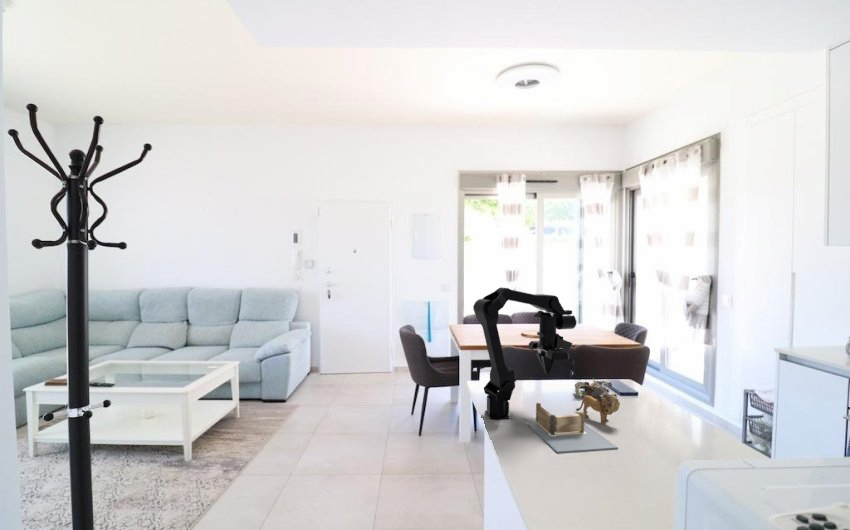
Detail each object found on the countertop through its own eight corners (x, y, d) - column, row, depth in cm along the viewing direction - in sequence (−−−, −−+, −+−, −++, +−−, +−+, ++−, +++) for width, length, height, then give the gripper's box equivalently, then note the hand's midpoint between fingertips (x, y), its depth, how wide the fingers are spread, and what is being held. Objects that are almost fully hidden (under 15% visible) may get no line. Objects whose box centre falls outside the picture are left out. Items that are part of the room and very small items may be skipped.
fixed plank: (551, 436, 111) (551, 416, 111) (535, 422, 122) (535, 403, 122) (555, 436, 111) (556, 415, 111) (539, 421, 122) (539, 402, 122)
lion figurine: (622, 424, 121) (622, 395, 121) (614, 428, 118) (614, 399, 118) (579, 410, 133) (579, 384, 133) (571, 413, 129) (571, 387, 129)
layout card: (557, 453, 101) (557, 451, 101) (526, 423, 120) (526, 422, 120) (618, 448, 104) (618, 447, 104) (578, 420, 123) (578, 419, 123)
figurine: (627, 392, 137) (581, 392, 137) (627, 408, 137) (580, 409, 137) (601, 373, 157) (561, 373, 156) (601, 387, 157) (560, 388, 157)
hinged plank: (557, 434, 111) (557, 415, 111) (554, 432, 113) (554, 413, 113) (584, 432, 113) (585, 413, 113) (582, 430, 115) (582, 411, 115)
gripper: (583, 334, 126) (583, 381, 126) (555, 325, 145) (555, 366, 145) (552, 334, 124) (552, 382, 124) (528, 326, 143) (527, 367, 143)
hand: (547, 374), depth 134 cm, fingers closed
